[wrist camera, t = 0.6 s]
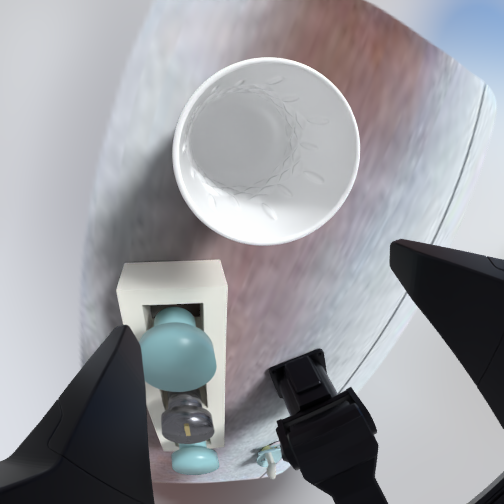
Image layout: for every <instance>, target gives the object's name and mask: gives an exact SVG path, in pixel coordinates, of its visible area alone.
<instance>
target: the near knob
mask: <svg viewBox="0 0 504 504" xmlns="http://www.w3.org/2000/svg"><path fill="white" fill-rule="evenodd" d="M139 343H140V346H141V351H142V361H143V370H144V378H145V381H146V382H147V383H148V384H150V385H151V386H153V387H155V388H158V389H161V390H164V391H170V392H185V391H191V390H194V389H197V388H199V387H202V386H203V385H205V384H206V383H208V382H209V381H210V380H211V379H212V378H213V376H214V374H215V372H216V368H217V365H216V359H215V353H214V348H213V344H212V341H211V339H210V338H209V336H208V335H207V334H206V333H205V332H204V331H202V330H201V329H199V328H197V327H196V322H195V318H194V316H193V315H192V314H191V313H190V312H189V311H187V310H186V309H183V308H180V307H168V308H165V309H163V310H161V311H160V312H158V314H157V315H156V316H155V319H154V327H152V328H150V329H149V330H148V331H146V332H145V333H144V334H143V335H142V337H141V338H140V341H139Z"/></svg>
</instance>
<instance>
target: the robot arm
mask: <svg viewBox="0 0 504 504" xmlns="http://www.w3.org/2000/svg"><path fill="white" fill-rule="evenodd" d="M390 267H391V269H392V271H393V272H394V274H395V275H396V277H397V278H398V279H399V281H400V282H401V284H402V285H403V287H404V288H405V290H406V291H407V293H408V294H409V296H410V297H411V299H412V300H413V301H414V303H415V304H416V305H417V306H418V308H419V309H420V310H421V311H422V313H423V314H424V315H425V316H426V318H427V319H428V320H429V321H430V323H431V324H432V325H433V326H434V328H435V329H436V330H437V332H439V334H440V335H441V337H442V338H443V339H444V341H445V342H446V343H447V345H448V346H449V347H450V349H451V350H452V352H453V353H454V354H455V355H456V357H457V358H458V360H459V361H460V363H461V364H462V365H463V367H464V368H465V370H466V371H467V373H468V374H469V375H470V377H471V378H472V380H473V381H474V383H475V384H476V385H477V388H478V389H479V391H480V392H481V394H482V395H483V397H484V398H485V400H486V401H487V403H488V405H489V406H490V408H491V409H492V411H493V412H494V414H495V416H496V417H497V419H498V421H499V423H500V424H501V426H502V427H503V429H504V260H502V259H497V258H493V257H486V256H484V255H479V254H474V253H469V252H465V251H460V250H456V249H451V248H446V247H441V246H436V245H431V244H426V243H420V242H415V241H410V240H405V239H399V240H396V241H393V242H392V243H391V245H390ZM269 373H270V375H271V378H272V380H273V383H274V385H275V388H276V390H277V392H278V395H279V397H280V398H283V399H284V401H285V404H286V406H287V409H288V411H289V414H290V417H287V418H285V419H280V420H278V421H277V424H278V427H277V428H276V432H277V435H278V438H279V441H280V447H281V455H282V458H283V460H284V461H287V462H289V463H290V465H292V467H293V468H294V469H295V470H298V469H300V471H301V473H302V475H303V477H304V479H305V480H307V481H308V482H309V483H311V484H313V485H314V486H316V487H317V488H319V489H321V490H322V491H324V492H325V493H327V494H329V495H330V496H332V498H333V500H334V502H335V504H388V502H387V500H386V498H385V496H384V494H383V492H382V490H381V489H380V487H379V485H378V483H377V481H376V479H375V470H376V462H377V454H378V443H377V441H376V439H375V437H374V434H376V433H377V429H376V426H375V424H374V421H373V419H372V417H371V415H370V413H369V412H368V410H367V409H366V407H365V406H364V404H363V403H362V402H361V400H360V399H359V398H358V396H357V395H356V393H355V392H354V391H353V389H352V388H351V387H350V388H348V389H346V391H344V392H342V393H340V394H338V393H337V392H336V390H335V388H334V386H333V384H332V382H331V381H330V379H329V377H328V375H327V371H326V365H325V358H324V352H323V350H322V349H317V350H315V351H312V352H310V353H308V354H305V355H303V356H300V357H298V358H295V359H293V360H290V361H288V362H285V363H282V364H280V365H277V366H274V367H272V368H270V369H269ZM0 504H154V497H153V489H152V480H151V471H150V460H149V448H148V433H147V411H146V386H145V378H144V370H143V361H142V351H141V346H140V343H139V342H138V340H137V338H136V337H135V335H134V333H133V331H132V330H131V328H130V327H129V326H128V325H122V326H118V327H116V328H115V329H114V330H113V331H112V332H111V333H110V335H109V336H108V337H107V338H106V339H105V341H104V342H103V343H102V344H101V345H100V347H99V348H98V349H97V350H96V351H95V353H94V354H93V355H92V356H91V358H90V359H89V360H88V361H87V362H86V364H85V365H84V366H83V367H82V369H81V370H80V371H79V372H78V374H77V375H76V376H75V377H74V379H73V380H72V381H71V383H70V384H69V385H68V387H67V388H66V389H65V390H64V392H63V393H62V394H61V395H60V397H59V400H56V402H55V403H54V405H53V406H52V407H51V409H50V410H49V411H48V412H47V414H46V415H45V416H44V417H43V419H42V420H41V421H40V423H39V424H38V425H37V426H36V427H35V428H34V429H33V431H32V432H31V433H30V434H29V435H28V437H27V438H26V439H25V440H24V441H23V442H22V443H21V445H20V446H19V447H18V448H17V449H16V451H15V452H14V453H13V454H12V455H11V456H10V457H9V458H7V459H5V460H3V461H0ZM467 504H504V472H503V473H502V474H501V475H500V476H499V477H498V478H496V479H495V480H494V481H493V482H492V483H491V484H490V485H489V486H488V487H487V488H485V489H484V490H483V491H482V492H481V493H480V494H478V495H477V496H476V497H475V498H474V499H472V500H471V501H470V502H469V503H467Z"/></svg>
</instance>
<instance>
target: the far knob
mask: <svg viewBox="0 0 504 504" xmlns="http://www.w3.org/2000/svg"><path fill="white" fill-rule="evenodd" d="M171 457H172V467H173V470H174V471H176V472H178V473H181V474H186V475H201V474H207V473H210V472H213V471H215V470H217V469H218V468H219V462H218V457H217V453H216V452H215V451H214V450H212V449H209V448H207V445H206V441H203V442H200V443H195V444H180V443H179V450H177V451H175V452H173V453H172V455H171Z"/></svg>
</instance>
